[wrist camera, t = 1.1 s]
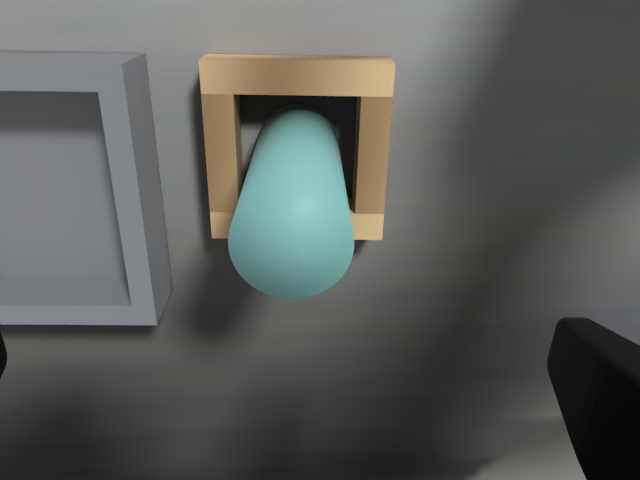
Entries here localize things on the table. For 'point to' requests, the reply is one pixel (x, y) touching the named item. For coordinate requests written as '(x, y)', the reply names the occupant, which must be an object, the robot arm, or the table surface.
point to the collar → (309, 80)
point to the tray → (80, 191)
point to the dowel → (293, 208)
